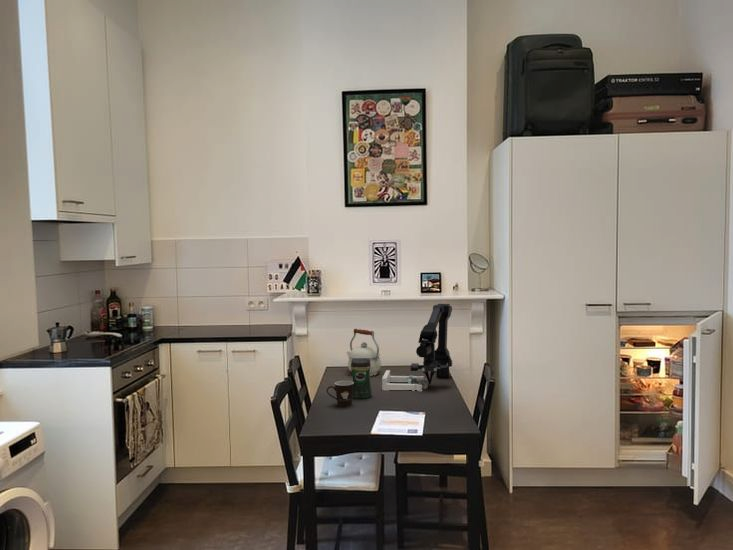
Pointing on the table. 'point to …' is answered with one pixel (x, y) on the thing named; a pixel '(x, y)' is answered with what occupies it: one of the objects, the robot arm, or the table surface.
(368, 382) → the coffee jar
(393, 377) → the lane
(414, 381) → the egg carton
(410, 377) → the bar
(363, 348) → the kettle
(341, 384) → the coffee mug
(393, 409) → the table surface
